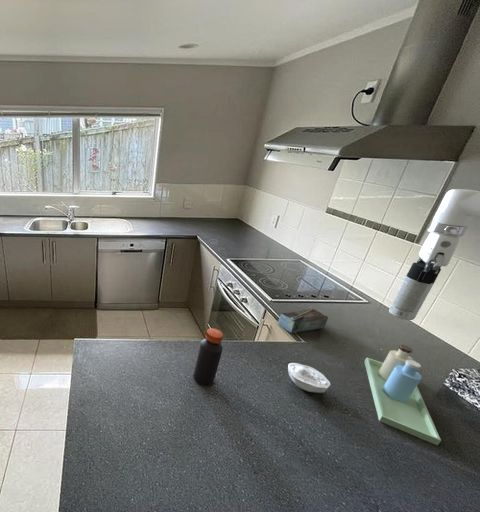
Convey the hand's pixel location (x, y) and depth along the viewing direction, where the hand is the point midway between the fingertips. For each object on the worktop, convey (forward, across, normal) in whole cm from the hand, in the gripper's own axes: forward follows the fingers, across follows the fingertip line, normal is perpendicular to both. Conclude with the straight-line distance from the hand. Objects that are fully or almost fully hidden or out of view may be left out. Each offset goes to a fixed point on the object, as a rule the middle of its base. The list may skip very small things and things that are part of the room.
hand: (420, 278), depth 96 cm
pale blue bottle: (+36, -19, -2) cm, 40 cm away
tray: (+36, -20, -2) cm, 41 cm away
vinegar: (+36, -53, +51) cm, 82 cm away
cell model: (+36, -34, +23) cm, 54 cm away
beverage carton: (+36, +8, +25) cm, 45 cm away
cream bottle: (+36, -10, -2) cm, 37 cm away
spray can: (+15, 0, 0) cm, 15 cm away
